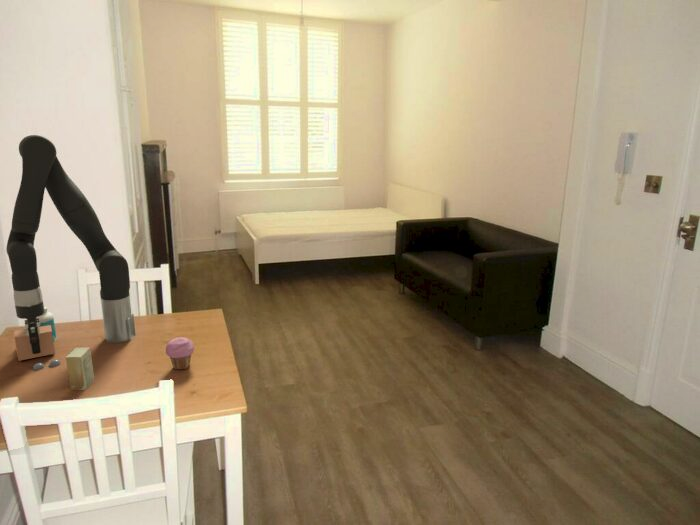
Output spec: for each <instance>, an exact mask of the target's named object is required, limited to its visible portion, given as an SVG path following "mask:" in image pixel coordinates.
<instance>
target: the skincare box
mask: <svg viewBox="0 0 700 525" xmlns="http://www.w3.org/2000/svg"><path fill="white" fill-rule="evenodd" d="M92 359H93V358H92V354H91V347H75V348H73V349H72V350H71V351H70V352H69V353H68V355H66V356H65V360H66V362H65V363H66V368H67V372H68V373H67V376H68V381H69V387H70V388H69V389H70V390H71V391H86V390H87V389H88V388H89V387H90V386H91V385H92V383H93V382H94V381H95V374H94V367H93V360H92Z"/></svg>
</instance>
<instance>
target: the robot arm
mask: <svg viewBox="0 0 700 525" xmlns="http://www.w3.org/2000/svg"><path fill="white" fill-rule="evenodd" d="M18 151H19V155H20V156H21V157H20V158H21V160H22V161H21V162H22V163H21V164H22V165H21V166H22V170H21V172H22V173H21V180H20V185H19V189H18V192H17V196H16V198H15V199H16V200H15V202H14V208H13V213H12V218H11V219H12V220H11V229H10V232H9V235H8V239H7V243H6V254H7V256H8V260H9V264H10V270H11V284H12V291H13V300H14V301H13V302H14V308H15V315H16V317H17V318H18V319H22V320H23V319H24V328H25V329H27V336H28V337H29V338H30V344H31V346H32V353H33V354H37V353H40V352H41V350H40V344H39V343H40V340H39V335H40V329H39V326H40V322H39V318H36V317H38V316H41V315H43V314H44V312H45V311H44V306H45V305H44V299H43V292H42V288H41V285H40V277H39V274H38V261H37V260H38V258H37V250H36V249H35V247H34V245H35V240H36V239H35V238H36V234H37V232H38V231H39V227H40V223H41V217H42V212H43V202H44V197H45V190H46V192H47V193H48V196H49V198H50V199H51V201H52V203H53V205H54V207H55V208H56V210H57V211H58V213H59V215H60V216H61V218H62V219H63V221H64V222H65V224H66V225H67V226H68V228H69V229H70V230H71V232H72V233H73V234H74V235H75V236H76V238H78V239H79V240H80V242H82V244H83V245H84V247H85V248H86V250H87V252H88V254H89V256H90V258H91V260H92V262H93V264H94V266H95V268H96V270H97V271H98V274H99V275H98V276H99V284H100V290H99V296H100V304H101V314H102V321H103V329H104V338H105V341H106V342H107V343H111V344H117V343H118V344H119V343H124V342H127V341H132V340H133V338H134V337H136V336H137V335H136V326H135V316H134V312H132V307H131V306H132V304H131V294H130V289H131V281H130V270H129V269H130V268H129V263H128V261H127V259H126V258H125V257H124V256H123V255H122V254H121V253H120V252H119V251H118V250H117V248H115V246H114V245H113V244H112V242H111V241H110V240H109V239H108V237H107V235H106V234H105V232H104V230H103V227H102V224H101V221H100V219H99V216H97V213H96V212H95V210H94V207H93V206H92V205H91V203H90V201H89V200H88V199H87V197H86V195H85V194H84V193H83V192H82V191H81V189H80V187H78V185H76V183H75V182H74V181H73V180H72V178H71V177H69V175H68V174H67V172H66V171H65V169H64V167H63V166H62V164H61V162H60V160H59V159H58V156H57V149H56V146H55V144H54V143H53V142H52V141H51V140H50V139H49V138H48V137H46V136H45V137H44V136H43V135H37V134H32V135H27V136H25V137H23V138H22V140H20V142H19V144H18ZM37 328H38V329H37ZM33 337H37V339H34V340H32V338H33Z"/></svg>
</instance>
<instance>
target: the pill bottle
mask: <svg viewBox="0 0 700 525" xmlns="http://www.w3.org/2000/svg"><path fill="white" fill-rule="evenodd" d="M44 311H45V312H44V314H43V315H41V316H38V317H36V318H39V322H40V326H39V327H41V326H47V325H51V329H52V335H53V342H55V341H57V331H56V325H55V324H56V323H55V317H54V315H53V313H51V312H50V311H49V310H48V306H45V305H44Z"/></svg>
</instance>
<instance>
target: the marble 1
mask: <svg viewBox="0 0 700 525" xmlns="http://www.w3.org/2000/svg"><path fill="white" fill-rule="evenodd" d="M44 368H45V365H44V363H42V362H36V363H35V364H33V366H32V370H33V371H40V370H43V369H44Z"/></svg>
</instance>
